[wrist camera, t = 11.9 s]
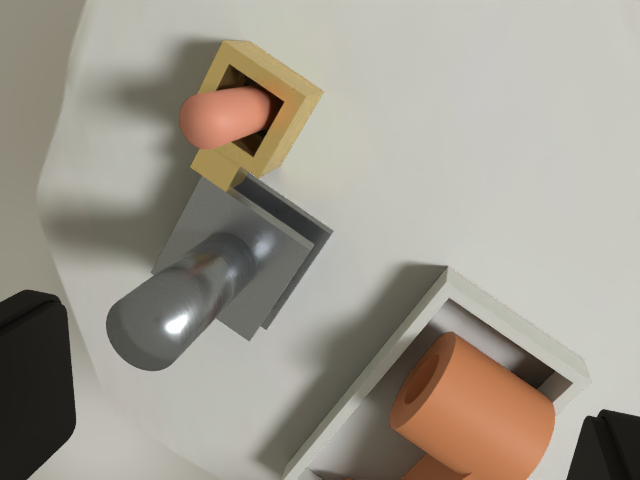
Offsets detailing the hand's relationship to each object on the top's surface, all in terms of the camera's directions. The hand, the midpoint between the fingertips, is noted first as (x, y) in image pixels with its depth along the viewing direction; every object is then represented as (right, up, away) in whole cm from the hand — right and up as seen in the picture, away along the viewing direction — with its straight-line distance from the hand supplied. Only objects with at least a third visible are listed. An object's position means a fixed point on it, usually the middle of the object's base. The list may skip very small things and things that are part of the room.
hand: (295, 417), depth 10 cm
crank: (+9, -12, +35) cm, 38 cm away
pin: (-3, +13, +30) cm, 32 cm away
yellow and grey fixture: (-4, +6, +32) cm, 33 cm away
